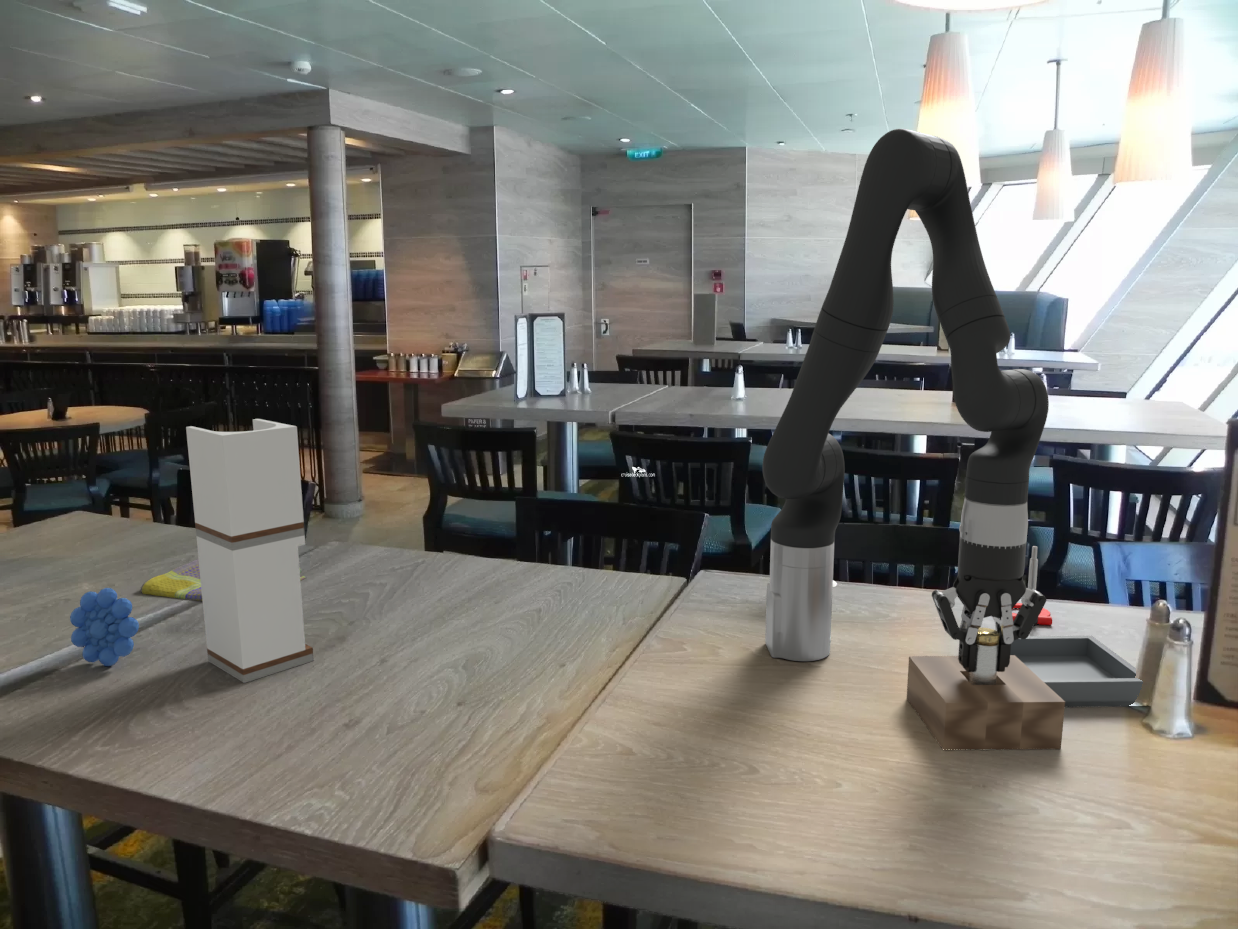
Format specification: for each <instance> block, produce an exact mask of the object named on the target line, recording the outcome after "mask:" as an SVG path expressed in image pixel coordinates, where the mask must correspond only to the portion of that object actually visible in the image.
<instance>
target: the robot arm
mask: <svg viewBox="0 0 1238 929" xmlns="http://www.w3.org/2000/svg"><path fill="white" fill-rule="evenodd" d="M907 210H910V211H914V212H915V213H916V215H917V216H918V217H919V219H920V222H922V224H923V227H924V228H925V230H926V233H927V235H928V238H929V241H930V245H931V250H932V272H931V273H932V276H931V295H932V301H933V306H934V309H935V312H936V316H937V318H938V321H939V325H940V326H941V330H942V332H943V334H944V338H945V340H946V343H947V345H948V348H949V351H950V368H951V378H952V379H951V381H952V389H953V390H952V391H953V399H954V403H955V406H956V410H957V412H958V414H959V415H960V417H961V418H962V420H963V421H964V422H965V423H966V424H967V425H968V426H969V427H970V428H972V429H973V430H976V431H977V432H983V433H990V432H991V433H990V436H989V438H988V440H987V443H985V445H984V446H982V447H980V448H978V449H976V450H974V452H972V453H971V454H970V455H969V456H968V459H967V465H966V473H965V484H964V485H965V488H964V500H963V505H962V510H961V517H960V518H961V519H960V523H959V528H958V529H959V530H958V531H959V542H958V543H959V545H958V557H957V558H958V560H957V561H958V563H957V576H956V579H955V580H954V581H953V585H952V587H950V588H946V589H944V590H942V591H941V590H939V589H934V590H933V591H932V592H931V597H932V600H933V602H934V603H933V604H934V605H935V608H936V611H937V613H938V616H939V619H940V621H941V624H942V626H943V629H944V631H945V632H946V634H948V635H949V637H950V638H951V639H953V640H957V641H959V643H958V655H957V656H958V660H959V663H960V664H961V665H962V666H963V668H964V669H965V670H966V671H967V672H974V668H975V653H976V644H975V643H974V642H975V640H976V636H977V632H978V629H979V628H982V625H983V621H984V619H985V618H988V617H992V619H993V622H994V628H995V629H994V630H996V631H998V632H999V633H1000V637H999V651H998V664H997V672H1004V671H1005V667H1008V665H1009V663H1010V651H1011V644H1012V642H1013V641H1014V640H1016V639H1019V638H1021V639H1026V638H1027V637H1028V636H1030V634H1031V632H1032V630H1033V628H1034V626H1035V625H1034V624H1035V622H1036V620H1037V618H1038V616H1039V614H1040V612H1041V611H1042V609H1043V608H1044V607H1045V605H1046V603H1047V598H1046V595H1044V594H1042V593H1041V592H1040V591H1038V590H1037V589H1036V590H1035V589H1031V590H1030V589H1028V587H1027V586H1026V584H1025V582H1024V579H1023V578H1024V573H1025V568H1026V567H1025V565H1026V564H1025V563H1026V553H1027V538H1028V536H1027V535H1028V528H1029V514H1028V497H1029V485H1030V484H1029V483H1030V469H1031V465H1032V462H1033V459H1034V457H1035V456H1036V452H1037V450H1038V446H1039V445H1040V444H1039V443H1040V441H1041V438H1042V435H1043V432H1044V429H1045V426H1046V422H1047V418H1048V414H1049V406H1050V405H1049V394H1048V390H1047V387H1046V385H1045V382H1044V380H1043V379H1042V378H1041V377H1040V376H1039V375H1038V374H1037V373H1035V371H1032V370H1029V369H1022V368H1016V369H1005V370H1003V369H1001V370H1000V368H999V363H998V357H997V354H998V353H1000V352H1001V351H1003V350H1004V349H1005V348H1006V347H1008V345H1009V343H1010V341H1011V331H1010V327H1009V324H1008V322H1007V319H1006V316H1005V314H1004V311H1003V309H1002V307H1001V304H1000V301H999V299H998V296H997V294H996V291H995V288H994V286H993V283H992V281H991V279H990V276H989V273H988V270H987V266H986V264H985V259H984V258H983V253H982V250H981V245H980V241H979V238H978V232H977V227H976V223H975V220H974V214H973V213H974V212H973V211H972V210H973V209H972V206H971V201H970V195H969V189H968V184H967V178H966V174H965V169H964V166H963V162H962V160H961V156H960V154H959V152H958V150H957V149H956V147H955V145H953V144H952V143H951V142H950V141H949V140H947V139H944V138H942V137H938V136H935V135H933V134H929V133H924V132H920V131H917V130H911V129H906V128H895V129H894V128H893V129H892V130H889V131H888V132H885V133H884V134H883V135H882V136H881V137H880V138H879V139H878V140H877V141H876V143H875V144H874V145H873V147H872V149H871V150H870V152H869V154H868V157H867V158H866V161H865V164H864V167H863V170H862V173H861V177H860V180H859V184H858V189H857V193H856V197H855V202H854V206H853V209H852V213H851V216H850V221H849V224H848V229H847V233H846V236H845V240H844V243H843V246H842V249H841V252H840V255H839V257H838V261H837V264H836V267H835V271H834V273H833V276H832V280H831V283H830V286H829V288H828V291H827V293H826V297H825V299H823V300H824V301H823V304H822V306H821V308H820V312H819V314H818V316H817V319H816V323H815V326H814V329H813V330H812V335H811V338H810V342H809V345H808V348H807V350H806V353H805V356H804V358H803V361H802V363H801V366H800V369H799V372H798V375H797V378H796V380H795V383H794V386H793V389H792V392H791V395H790V397H789V400H788V401H787V404H786V406H785V409H784V410H783V413H782V414H781V417H780V419H779V420H778V422H777V425H776V427H775V429H774V431H773V434H772V435H771V437H770V439H769V442H768V443H767V446H766V449H765V451H764V453H763V458H762V476H763V480H764V483H765V485H766V487H767V489H768V490H769V491H770V492H771V493H772V494H773V495H775V496H776V497H777V498H780V499H785V502H784V504H783V506H782V507H781V510H780V511H779V512H778V513H777V515H776V516H775V517H774V518H773V519H772V521H771V525H770V553H769V554H770V556H769V557H770V558H769V560H770V562H769V583H767V584H766V596H765V597H766V598H765V599H766V600H765V601H766V602H765V606H766V607H765V639H764V643H765V646H766V647H767V650H768V652H769V654H770V656H771V658H778V659H785V660H789V661H795V662H813V661H819V660H822V659H824V658H827V657H828V656H829V655H830V654H831V642H832V637H831V636H832V612H833V611H832V610H833V588H834V587H833V580H834V561H835V560H834V559H835V536H836V532H837V531H836V529H837V527H838V525H839V523H840V520H841V517H842V510H843V498H844V486H845V470H846V467H845V458H844V453H843V449H842V446H841V445H840V442H839V441H838V440H837V439H836V437H835V436H833V435H832V434H830V433H829V432H830V430H831V428H832V426H833V423H834V421H835V420H836V417H837V415H838V413H839V412H840V411H841V409H842V408H843V406H844V405H845V404H846V402H847V401H848V399H849V398H850V397H851V396H852V394H853V393H854V392H855V390H857V388H858V387H859V385H860V384H861V383H862V381H864V378H865V377H866V376H867V374H868V373H869V372H870V370H871V369H872V367H873V366H874V363H875V362H876V360H877V357H878V355H879V354H880V350H881V348H882V345H883V343H884V341H885V337H886V335H887V333H888V330H889V328H890V325H891V322H892V318H893V314H894V313H893V312H894V305H895V304H894V286H893V285H894V284H893V283H894V282H893V275H892V273H893V272H892V257H893V256H892V255H893V251H894V250H893V249H894V246H895V243H896V239H897V236H898V233H899V230H900V228H901V224H902V222H903V219H904V217H905V215H906V213H907ZM956 598H958V599H959V601H960V602H961V604H962V605H963V607H962V612H961V616H960V617H961V622H960V625H959V624H958V622H957V619H956V617H955V614H954V611H953V608H954V607H955V605H956ZM1019 601H1021V602H1020V603H1022V606H1021V608H1020V609H1018V610H1017V613H1016V614H1017V615H1016V617H1015V619H1014V621H1013V617H1012V613H1013V611H1012V610H1013V609H1012V608H1013V607H1014V606H1015V605H1016V603H1019Z"/></svg>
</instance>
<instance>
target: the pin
mask: <svg viewBox="0 0 1238 929" xmlns="http://www.w3.org/2000/svg"><path fill="white" fill-rule="evenodd" d="M999 637H1000V633H999V632H998V631H996V629H994V628H988V627H980V628H979V629H978V632H977V636H976V640H975V642H974V643H975V644H976V653H975V668H974V672H969V682H970V683H971V684H972V685H996V678H997V664H998V651H999Z"/></svg>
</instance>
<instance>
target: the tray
mask: <svg viewBox="0 0 1238 929" xmlns="http://www.w3.org/2000/svg"><path fill="white" fill-rule="evenodd" d="M1010 655H1015V656H1016V657H1017V658H1018V659H1019V660H1020V661H1022V662H1023V663H1024V664H1025V665H1026V666H1027V667H1028V668H1029V669H1030V670H1031V671H1032V672H1033V673H1035V674H1036V675H1037V676H1038V677H1039V678H1040V679H1041V680H1042V681H1043V682H1044V683H1045V684H1046V685H1048V686H1049V687H1050V688H1051V689H1052V690H1053V691H1054V692H1055V693H1056V694H1057V695H1058V696H1059V697H1061V698H1062V699H1063V700H1064V701H1065V708H1110V707H1113V708H1115V707H1116V708H1117V707H1125V708H1126V707H1128V706H1129V705H1131V704H1133V703H1134V702H1135V700H1136V699H1137V697H1138V696H1139V693H1140V690H1141V689H1142V688H1141V687H1142V684H1143V681H1142V680H1140V679H1138V678H1135V676H1136V668H1137V667H1135V666H1134V665H1132V664H1131V663H1130V662H1128V661H1127V660H1125V658H1123V657H1122V656H1120V655H1119V654H1117V652H1115V651H1114V650H1113V649H1111V648H1109V647H1108V646H1107V645H1105V644H1104V643H1102V642H1101V641H1100V640H1098V639H1097V638H1096V637H1095V636H1093V635H1028V637H1027V638H1026V639H1021V638H1019V639H1016V640H1014V641H1013V642H1012V644H1011V651H1010ZM1137 695H1138V696H1137Z"/></svg>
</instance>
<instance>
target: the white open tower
mask: <svg viewBox="0 0 1238 929" xmlns="http://www.w3.org/2000/svg"><path fill="white" fill-rule="evenodd" d="M252 427H253V428H252V429H253V430H247V431H246V430H245V431H217V430H216V431H214V430H212V429H211V430H210V429H206V428H202V427H196V426H192V425H190V426H186V427H185V430H186V441H187V450H188V460H189V461H188V462H189V471H190V472H189V473H190V482H191V491H192V492H191V493H192V494H191V495H192V503H193V504H192V505H193V513H194V515H193V516H194V524H195V525H194V526H195V537H196V544H197V545H196V547H197V557H198V558H197V559H199V569H200V580H201V590H202V611H203V619H204V630H205V642H206V650H207V651H206V652H207V661H208V662H209V663H210V664H211V665H214V666H216V668H219V669H220V670H222V671H224V672H225V673H227V674H228V675H230V676H232V677H233V678H235V679H237V680H239V681H240V682H242V683H243V684H246V683H248V682H251V681H254V680H258V679H261V678H264V677H267V676H270V675H273V674H277V673H280V672H283V671H286V670H289V669H292V668H295V667H299V666H302V665H304V664H308V663H311V662H314V661H315V660H314V647H312V646H310V645H308V644H306V640H305V636H306V635H305V624H304V611H303V598H302V584H301V581H300V576H301V573H300V569H301V567H300V558H299V557H300V556H299V547H300V546H305V545H306V538H305V537H306V536H305V534H306V533H305V523H304V522H305V521H304V509H303V508H304V507H303V494H302V492H303V491H302V480H301V479H302V478H301V466H300V464H301V463H300V454H299V453H300V451H299V437H298V426H296V425H291V424H288V423H287V424H286V423H281V422H278V421H272V420H266V419H263V418H255V419H253V418H252Z"/></svg>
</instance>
